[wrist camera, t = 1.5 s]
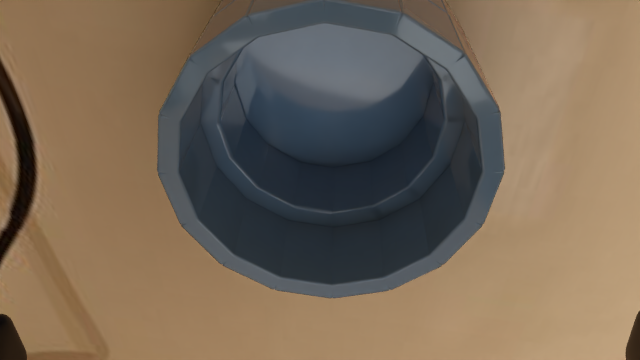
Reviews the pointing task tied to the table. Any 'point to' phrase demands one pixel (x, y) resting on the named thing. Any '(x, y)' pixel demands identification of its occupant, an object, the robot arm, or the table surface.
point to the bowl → (331, 142)
